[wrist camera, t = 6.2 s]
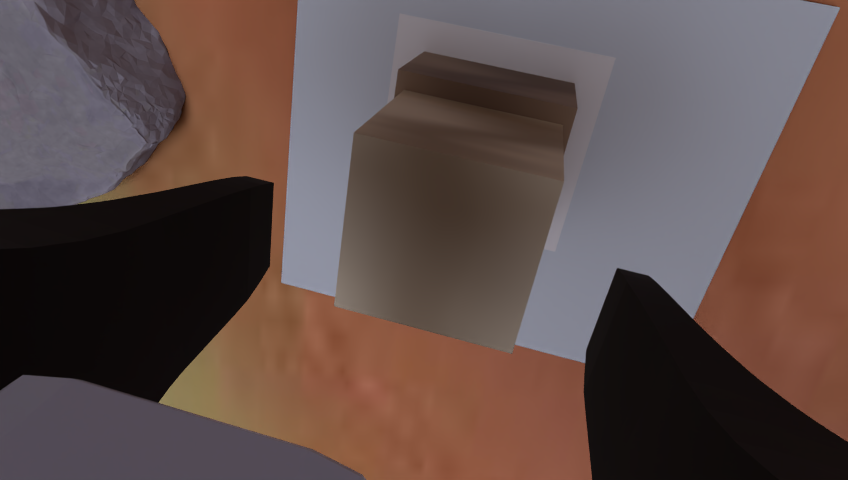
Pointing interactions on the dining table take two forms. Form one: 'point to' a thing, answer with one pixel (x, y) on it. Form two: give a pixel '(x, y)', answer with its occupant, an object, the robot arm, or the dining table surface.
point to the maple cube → (448, 217)
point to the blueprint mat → (590, 135)
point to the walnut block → (491, 88)
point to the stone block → (79, 98)
